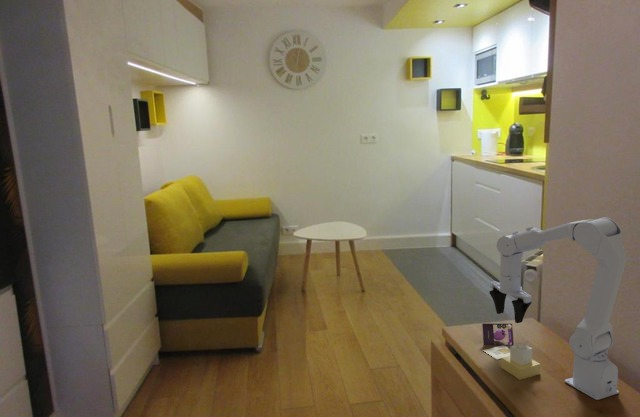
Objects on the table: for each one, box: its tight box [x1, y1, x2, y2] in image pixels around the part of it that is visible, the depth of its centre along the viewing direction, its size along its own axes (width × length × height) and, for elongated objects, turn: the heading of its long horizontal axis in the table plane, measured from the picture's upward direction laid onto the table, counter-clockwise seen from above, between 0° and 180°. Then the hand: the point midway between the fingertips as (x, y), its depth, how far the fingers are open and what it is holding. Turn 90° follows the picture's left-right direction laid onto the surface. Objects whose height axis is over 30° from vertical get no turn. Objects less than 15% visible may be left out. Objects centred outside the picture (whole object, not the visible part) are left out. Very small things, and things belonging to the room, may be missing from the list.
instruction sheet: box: [482, 345, 510, 361], centre depth 136 cm, size 6×8×1 cm
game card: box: [482, 322, 515, 347], centre depth 143 cm, size 7×5×9 cm
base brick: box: [500, 356, 541, 381], centre depth 126 cm, size 7×7×3 cm
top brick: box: [509, 342, 533, 366], centre depth 125 cm, size 4×4×5 cm
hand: (509, 317), depth 136 cm, fingers open, 7 cm apart
